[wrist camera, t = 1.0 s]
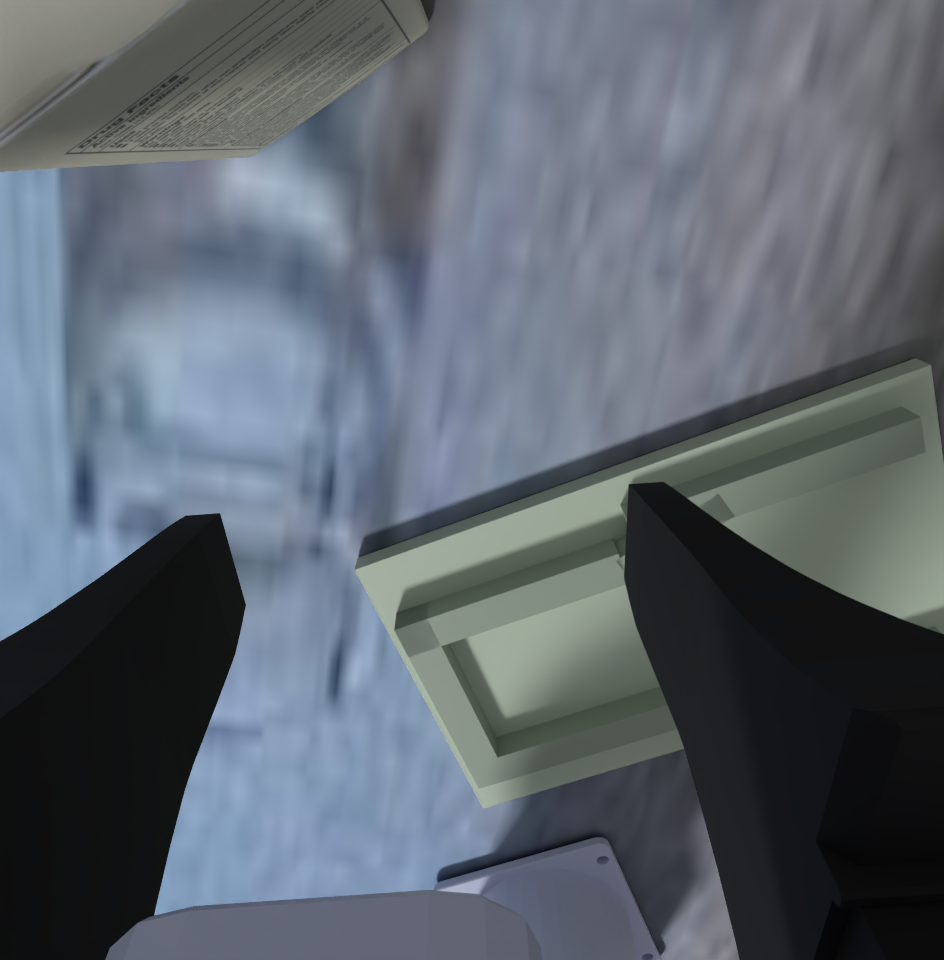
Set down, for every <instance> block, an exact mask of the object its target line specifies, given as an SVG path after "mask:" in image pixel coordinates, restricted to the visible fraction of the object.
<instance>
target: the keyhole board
mask: <svg viewBox="0 0 944 960" xmlns="http://www.w3.org/2000/svg"><path fill="white" fill-rule="evenodd" d="M652 482H665V483H666V484H668V485H669V486H671V487H672V488H674V489H675V490H676V491H678V492H679V493H681V494H682V495H683V496H685V497H686V498H687V499H689V500H690V501H691V502H693V503H694V504H696V505H697V506H698V507H700V508H701V509H702V510H704V511H705V512H706V513H708V514H709V515H711V516H712V517H713V518H715V519H716V520H717V521H719V522H720V523H722V524H723V525H725V526H726V527H727V528H729V529H730V530H732V531H733V532H735V533H736V534H738V535H739V536H741V537H742V538H744V539H745V540H747V541H748V542H750V543H751V544H753V545H754V546H756V547H757V548H759V549H761V550H762V551H764V552H766V553H767V554H769V555H770V556H772V557H774V558H775V559H777V560H779V561H780V562H782V563H784V564H785V565H787V566H789V567H791V568H792V569H794V570H796V571H798V572H800V573H801V574H803V575H805V576H807V577H809V578H811V579H813V580H815V581H817V582H819V583H821V584H823V585H825V586H827V587H829V588H831V589H833V590H835V591H837V592H839V593H841V594H843V595H845V596H848V597H850V598H852V599H854V600H857V601H859V602H861V603H863V604H866V605H868V606H871V607H873V608H875V609H878V610H880V611H883V612H885V613H888V614H890V615H893V616H895V617H898V618H900V619H902V620H905V621H908V622H911V623H913V624H916V625H919V626H922V627H924V628H927V629H930V630H933V631H936V632H939V633H942V634H944V461H943V453H942V446H941V438H940V430H939V422H938V415H937V407H936V399H935V391H934V383H933V376H932V368H931V365H930V364H928V363H926V362H923V361H921V360H919V359H917V358H914V359H911V360H909V361H906V362H903V363H900V364H897V365H895V366H892V367H889V368H886V369H883V370H881V371H878V372H875V373H872V374H870V375H867V376H864V377H861V378H858V379H856V380H853V381H850V382H847V383H844V384H842V385H839V386H836V387H833V388H830V389H828V390H825V391H822V392H819V393H816V394H814V395H811V396H808V397H805V398H803V399H800V400H797V401H794V402H791V403H789V404H786V405H783V406H780V407H777V408H775V409H772V410H769V411H766V412H763V413H761V414H758V415H755V416H752V417H749V418H747V419H744V420H741V421H738V422H736V423H733V424H730V425H727V426H724V427H722V428H719V429H716V430H713V431H710V432H708V433H705V434H702V435H699V436H696V437H694V438H691V439H688V440H685V441H682V442H680V443H677V444H674V445H671V446H669V447H666V448H663V449H660V450H657V451H655V452H652V453H649V454H646V455H643V456H641V457H638V458H635V459H632V460H629V461H627V462H624V463H621V464H618V465H615V466H613V467H610V468H607V469H604V470H602V471H599V472H596V473H593V474H590V475H588V476H585V477H582V478H579V479H576V480H574V481H571V482H568V483H565V484H562V485H560V486H557V487H554V488H551V489H548V490H546V491H543V492H540V493H537V494H535V495H532V496H529V497H526V498H523V499H521V500H518V501H515V502H512V503H509V504H507V505H504V506H501V507H498V508H495V509H493V510H490V511H487V512H484V513H481V514H479V515H476V516H473V517H470V518H468V519H465V520H462V521H459V522H456V523H454V524H451V525H448V526H445V527H442V528H440V529H437V530H434V531H431V532H428V533H426V534H423V535H420V536H417V537H414V538H412V539H409V540H406V541H403V542H401V543H398V544H395V545H392V546H389V547H387V548H384V549H381V550H378V551H375V552H373V553H370V554H367V555H364V556H361V557H359V558H358V559H357V563H356V566H355V572H356V574H357V575H358V577H359V579H360V581H361V583H362V585H363V587H364V588H365V590H366V592H367V594H368V596H369V598H370V599H371V601H372V603H373V605H374V607H375V609H376V611H377V612H378V614H379V616H380V618H381V620H382V622H383V624H384V625H385V627H386V629H387V631H388V633H389V635H390V637H391V638H392V640H393V642H394V644H395V646H396V648H397V649H398V651H399V653H400V655H401V657H402V659H403V661H404V662H405V664H406V666H407V668H408V670H409V672H410V674H411V675H412V677H413V679H414V681H415V683H416V685H417V687H418V688H419V690H420V692H421V694H422V696H423V698H424V699H425V701H426V703H427V705H428V707H429V709H430V711H431V712H432V714H433V716H434V718H435V720H436V722H437V724H438V725H439V727H440V729H441V731H442V733H443V735H444V737H445V738H446V740H447V742H448V744H449V746H450V748H451V749H452V751H453V753H454V755H455V757H456V759H457V761H458V762H459V764H460V766H461V768H462V770H463V772H464V774H465V775H466V777H467V779H468V781H469V783H470V785H471V787H472V788H473V790H474V792H475V794H476V796H477V798H478V799H479V801H480V803H481V805H482V807H483V809H484V808H487V807H490V806H494V805H497V804H500V803H504V802H507V801H510V800H514V799H517V798H520V797H524V796H527V795H531V794H534V793H537V792H541V791H544V790H547V789H551V788H554V787H557V786H561V785H564V784H568V783H571V782H574V781H578V780H581V779H584V778H588V777H591V776H594V775H598V774H601V773H605V772H608V771H611V770H615V769H618V768H621V767H625V766H628V765H631V764H635V763H638V762H642V761H645V760H648V759H652V758H655V757H658V756H662V755H665V754H668V753H672V752H675V751H679V750H682V749H684V747H683V744H682V741H681V738H680V735H679V732H678V730H677V727H676V725H675V722H674V720H673V717H672V715H671V712H670V710H669V707H668V705H667V703H666V700H665V698H664V695H663V693H662V690H661V688H660V685H659V683H658V680H657V678H656V675H655V673H654V671H653V668H652V666H651V663H650V661H649V658H648V656H647V653H646V651H645V648H644V646H643V643H642V640H641V638H640V635H639V633H638V630H637V628H636V625H635V621H634V617H633V613H632V609H631V606H630V601H629V597H628V593H627V589H626V585H625V581H624V567H625V547H626V527H627V507H628V488H629V484H638V483H652Z"/></svg>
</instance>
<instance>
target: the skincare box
mask: <svg viewBox="0 0 944 960" xmlns="http://www.w3.org/2000/svg"><path fill="white" fill-rule="evenodd" d="M428 29H429V22H428V19H427V16H426V13H425V11H424V8H423V5H422V3H421V0H0V172H4V171H20V170H36V169H51V168H67V167H83V166H103V165H121V164H138V163H154V162H169V161H190V160H204V159H225V158H243V157H250V156H252V155H253V154H255V153H256V152H258V151H260V150H261V149H263V148H264V147H266V146H268V145H269V144H271V143H272V142H274V141H275V140H277V139H279V138H280V137H282V136H283V135H285V134H286V133H287V132H289V131H290V130H292V129H293V128H295V127H296V126H298V125H299V124H301V123H302V122H304V121H305V120H307V119H308V118H310V117H311V116H313V115H314V114H315V113H317V112H318V111H320V110H321V109H323V108H324V107H325V106H327V105H328V104H330V103H331V102H332V101H334V100H335V99H337V98H338V97H339V96H341V95H342V94H344V93H345V92H346V91H348V90H349V89H351V88H352V87H353V86H355V85H356V84H358V83H359V82H360V81H362V80H363V79H365V78H366V77H367V76H369V75H370V74H371V73H373V72H374V71H375V70H377V69H378V68H380V67H381V66H382V65H384V64H385V63H386V62H388V61H389V60H390V59H392V58H393V57H394V56H396V55H397V54H398V53H399V52H401V51H402V50H403V49H405V48H406V47H407V46H408V45H410V44H411V43H412V42H414V41H415V40H416V39H418V38H419V37H420V36H422V35H423V34H424V33H425V32H426V31H427V30H428Z"/></svg>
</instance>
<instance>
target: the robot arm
mask: <svg viewBox="0 0 944 960" xmlns="http://www.w3.org/2000/svg"><path fill="white" fill-rule="evenodd" d="M624 581H625V585H626V589H627V593H628V597H629V601H630V606H631V609H632V613H633V617H634V621H635V625H636V628H637V630H638V633H639V635H640V638H641V640H642V643H643V646H644V648H645V651H646V653H647V656H648V658H649V661H650V663H651V666H652V668H653V671H654V673H655V675H656V678H657V680H658V683H659V685H660V688H661V690H662V693H663V695H664V698H665V700H666V703H667V705H668V707H669V710H670V712H671V715H672V717H673V720H674V722H675V725H676V727H677V730H678V732H679V735H680V738H681V741H682V744H683V747H684V749H685V752H686V755H687V759H688V762H689V766H690V769H691V773H692V776H693V780H694V783H695V787H696V790H697V794H698V797H699V801H700V804H701V808H702V811H703V815H704V819H705V823H706V827H707V830H708V834H709V838H710V842H711V845H712V849H713V853H714V857H715V860H716V864H717V868H718V872H719V876H720V880H721V884H722V888H723V892H724V896H725V900H726V904H727V908H728V912H729V916H730V920H731V925H732V929H733V933H734V937H735V941H736V945H737V950H738V954H739V958H740V960H944V634H942V633H939V632H936V631H933V630H930V629H927V628H924V627H922V626H919V625H916V624H913V623H911V622H908V621H905V620H902V619H900V618H898V617H895V616H893V615H890V614H888V613H885V612H883V611H880V610H878V609H875V608H873V607H871V606H868V605H866V604H863V603H861V602H859V601H857V600H854V599H852V598H850V597H848V596H845V595H843V594H841V593H839V592H837V591H835V590H833V589H831V588H829V587H827V586H825V585H823V584H821V583H819V582H817V581H815V580H813V579H811V578H809V577H807V576H805V575H803V574H801V573H800V572H798V571H796V570H794V569H792V568H791V567H789V566H787V565H785V564H784V563H782V562H780V561H779V560H777V559H775V558H774V557H772V556H770V555H769V554H767V553H766V552H764V551H762V550H761V549H759V548H757V547H756V546H754V545H753V544H751V543H750V542H748V541H747V540H745V539H744V538H742V537H741V536H739V535H738V534H736V533H735V532H733V531H732V530H730V529H729V528H727V527H726V526H725V525H723V524H722V523H720V522H719V521H717V520H716V519H715V518H713V517H712V516H711V515H709V514H708V513H706V512H705V511H704V510H702V509H701V508H700V507H698V506H697V505H696V504H694V503H693V502H691V501H690V500H689V499H687V498H686V497H685V496H683V495H682V494H681V493H679V492H678V491H676V490H675V489H674V488H672V487H671V486H669V485H668V484H666V483H665V482H652V483H638V484H629V488H628V507H627V527H626V547H625V567H624ZM245 606H246V604H245V601H244V597H243V594H242V590H241V586H240V583H239V579H238V576H237V572H236V569H235V565H234V562H233V558H232V554H231V551H230V547H229V544H228V540H227V537H226V533H225V529H224V526H223V522H222V519H221V515H220V513H218V514H204V515H190V516H185V517H183V518H181V519H180V520H178V521H176V522H175V523H173V524H172V525H170V526H169V527H167V528H166V529H165V530H163V531H162V532H160V533H159V534H158V535H156V536H155V537H154V538H152V539H151V540H149V541H148V542H147V543H145V544H144V545H143V546H141V547H140V548H139V549H137V550H136V551H135V552H133V553H132V554H131V555H129V556H128V557H127V558H125V559H124V560H123V561H121V562H120V563H118V564H117V565H116V566H114V567H113V568H112V569H110V570H109V571H108V572H106V573H105V574H104V575H102V576H101V577H100V578H98V579H97V580H95V581H94V582H92V583H91V584H89V585H88V586H86V587H85V588H84V589H82V590H81V591H79V592H78V593H76V594H75V595H73V596H72V597H70V598H69V599H67V600H66V601H65V602H63V603H62V604H60V605H59V606H57V607H56V608H54V609H53V610H51V611H50V612H48V613H47V614H45V615H44V616H42V617H41V618H39V619H37V620H36V621H34V622H33V623H31V624H29V625H28V626H26V627H24V628H23V629H21V630H19V631H18V632H16V633H14V634H13V635H11V636H9V637H7V638H6V639H4V640H2V641H0V960H662V959H661V957H660V955H659V952H658V950H657V948H656V946H655V944H654V941H653V939H652V937H651V935H650V932H649V930H648V928H647V926H646V924H645V921H644V919H643V917H642V915H641V912H640V910H639V908H638V906H637V904H636V901H635V899H634V897H633V895H632V892H631V890H630V888H629V886H628V884H627V881H626V879H625V877H624V875H623V872H622V870H621V868H620V866H619V864H618V861H617V859H616V857H615V855H614V852H613V850H612V848H611V846H610V844H609V842H608V841H607V840H606V839H605V838H602V837H595V838H591V839H588V840H584V841H581V842H577V843H574V844H570V845H567V846H563V847H560V848H556V849H553V850H549V851H546V852H542V853H539V854H535V855H532V856H528V857H525V858H521V859H518V860H514V861H511V862H507V863H504V864H500V865H496V866H493V867H489V868H486V869H482V870H479V871H475V872H472V873H468V874H465V875H461V876H458V877H454V878H451V879H447V880H444V881H441V882H439V883H437V884H436V885H435V888H434V890H422V891H408V892H393V893H379V894H364V895H350V896H335V897H321V898H306V899H292V900H277V901H263V902H248V903H234V904H220V905H205V906H193V907H189V908H185V909H181V910H176V911H172V912H168V913H164V914H160V915H156V916H154V913H155V908H156V904H157V899H158V895H159V891H160V887H161V882H162V878H163V874H164V870H165V865H166V861H167V857H168V853H169V848H170V844H171V840H172V837H173V833H174V829H175V825H176V821H177V818H178V814H179V810H180V806H181V802H182V798H183V795H184V791H185V788H186V785H187V782H188V779H189V776H190V773H191V770H192V767H193V764H194V761H195V759H196V756H197V753H198V751H199V748H200V746H201V743H202V740H203V738H204V735H205V733H206V730H207V727H208V725H209V722H210V720H211V717H212V714H213V712H214V709H215V707H216V704H217V701H218V699H219V696H220V694H221V691H222V688H223V686H224V683H225V680H226V677H227V675H228V672H229V669H230V667H231V664H232V661H233V658H234V656H235V652H236V648H237V644H238V639H239V635H240V631H241V626H242V621H243V616H244V611H245Z"/></svg>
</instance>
